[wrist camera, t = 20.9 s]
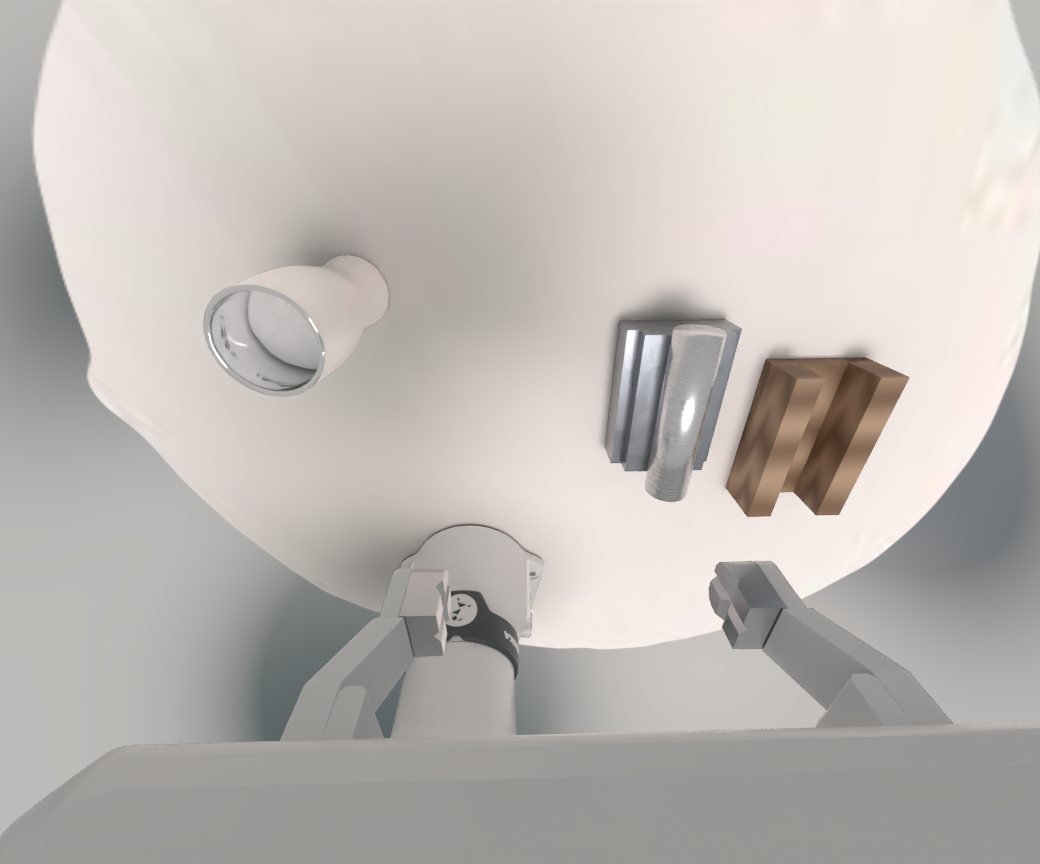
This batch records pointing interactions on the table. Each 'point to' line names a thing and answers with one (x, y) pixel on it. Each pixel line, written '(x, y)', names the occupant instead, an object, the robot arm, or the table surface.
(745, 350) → the table surface
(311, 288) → the beer glass
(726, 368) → the v block
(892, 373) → the wooden channel cradle
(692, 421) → the axle
